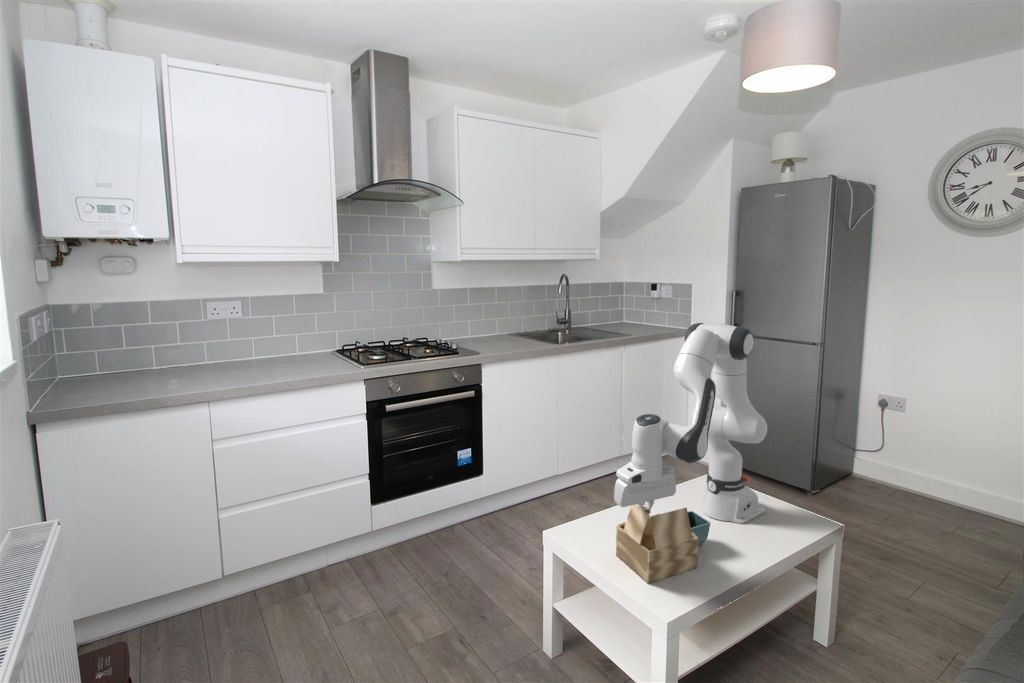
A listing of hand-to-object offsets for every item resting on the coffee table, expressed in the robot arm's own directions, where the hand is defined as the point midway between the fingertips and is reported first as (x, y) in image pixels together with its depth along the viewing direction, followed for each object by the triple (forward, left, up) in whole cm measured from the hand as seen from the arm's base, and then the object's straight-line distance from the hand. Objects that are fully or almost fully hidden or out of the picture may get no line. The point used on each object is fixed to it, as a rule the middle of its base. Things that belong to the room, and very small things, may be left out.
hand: (645, 513), depth 159 cm
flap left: (-5, +6, -2) cm, 8 cm away
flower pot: (-21, -3, -17) cm, 27 cm away
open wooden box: (-5, 0, -17) cm, 18 cm away
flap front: (+3, 0, -2) cm, 4 cm away
